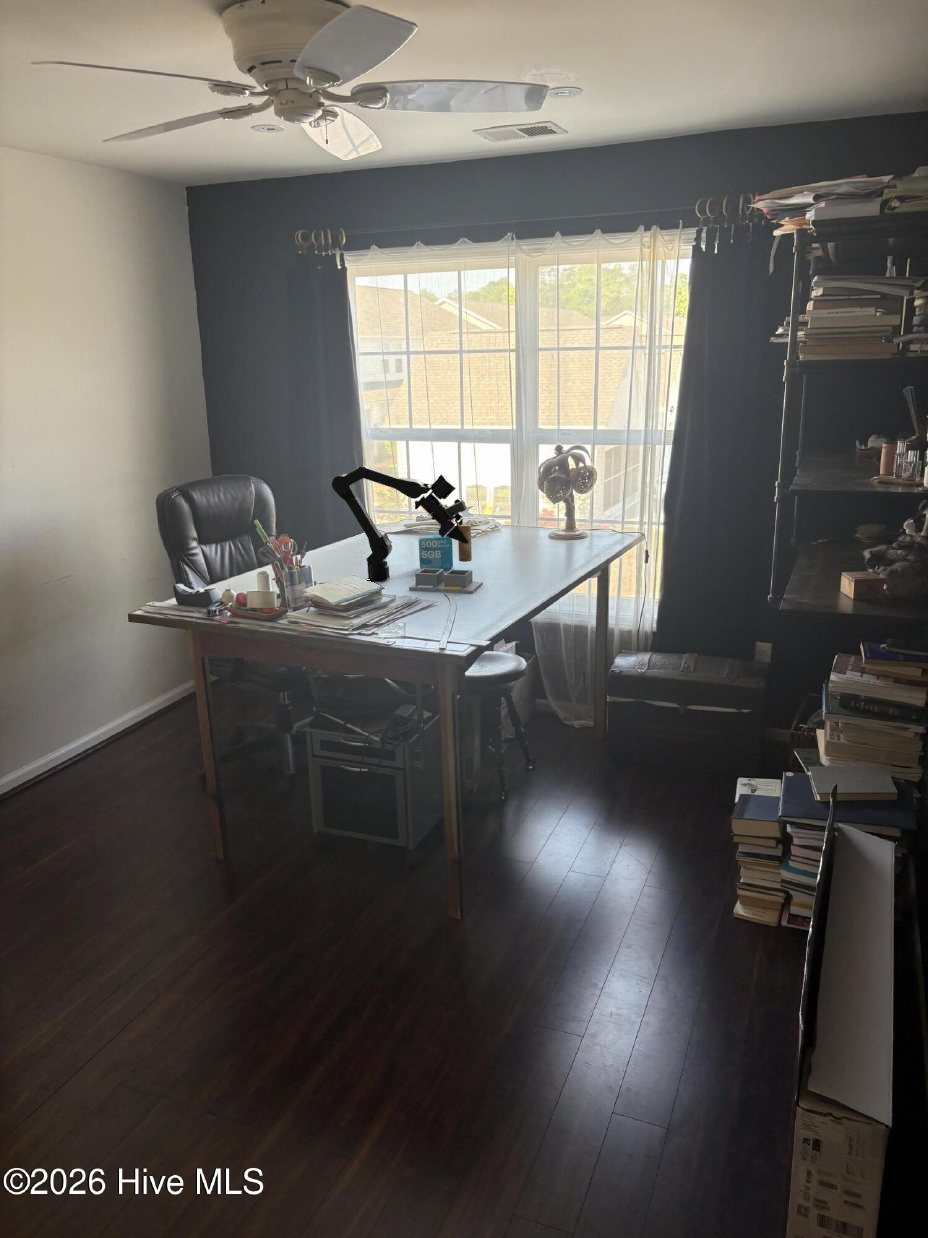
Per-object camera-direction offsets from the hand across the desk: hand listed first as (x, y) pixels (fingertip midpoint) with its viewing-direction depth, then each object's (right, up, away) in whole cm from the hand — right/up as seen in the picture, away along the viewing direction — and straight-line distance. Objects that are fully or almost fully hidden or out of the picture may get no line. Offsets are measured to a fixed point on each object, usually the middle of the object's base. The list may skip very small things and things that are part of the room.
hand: (468, 541), depth 304 cm
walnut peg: (-1, -6, +2) cm, 7 cm away
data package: (-12, -8, +21) cm, 26 cm away
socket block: (-8, -16, -5) cm, 18 cm away
